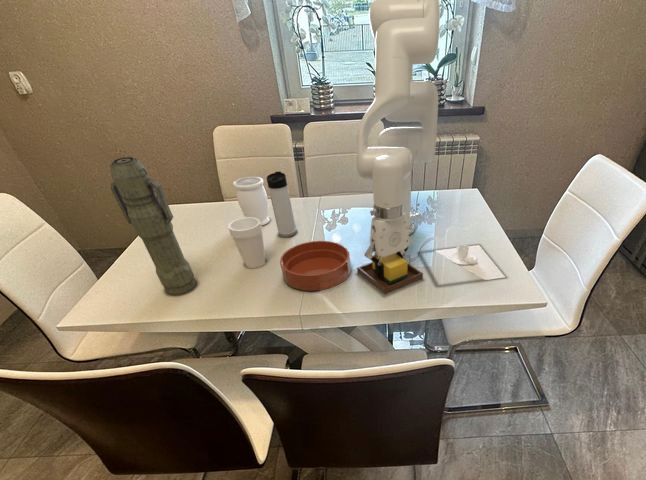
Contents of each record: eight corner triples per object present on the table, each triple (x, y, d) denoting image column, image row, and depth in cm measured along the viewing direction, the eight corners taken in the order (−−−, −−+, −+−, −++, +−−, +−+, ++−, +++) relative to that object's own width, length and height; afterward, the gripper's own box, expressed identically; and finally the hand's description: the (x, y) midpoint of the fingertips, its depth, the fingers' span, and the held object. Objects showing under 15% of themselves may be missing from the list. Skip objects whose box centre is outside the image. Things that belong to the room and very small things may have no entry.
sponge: (389, 264, 113) (388, 249, 109) (407, 277, 107) (407, 261, 104) (372, 270, 111) (371, 255, 107) (390, 284, 105) (390, 268, 101)
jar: (278, 219, 143) (269, 178, 133) (258, 230, 137) (248, 188, 127) (258, 214, 148) (248, 174, 138) (238, 224, 142) (226, 183, 131)
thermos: (198, 293, 108) (142, 163, 84) (156, 297, 108) (89, 168, 84) (205, 277, 115) (155, 152, 91) (166, 280, 114) (105, 156, 90)
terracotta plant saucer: (330, 250, 123) (328, 234, 120) (363, 276, 111) (362, 260, 107) (273, 270, 116) (269, 254, 112) (301, 300, 103) (298, 283, 99)
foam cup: (275, 257, 122) (266, 218, 113) (260, 272, 115) (249, 232, 106) (250, 254, 124) (239, 215, 115) (234, 268, 118) (221, 228, 109)
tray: (393, 260, 117) (393, 253, 115) (422, 280, 108) (423, 273, 106) (357, 274, 112) (357, 267, 110) (384, 296, 103) (384, 289, 101)
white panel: (480, 265, 112) (482, 253, 109) (455, 268, 111) (456, 256, 109) (470, 251, 119) (471, 239, 116) (445, 254, 118) (446, 242, 115)
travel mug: (298, 229, 136) (287, 171, 123) (294, 237, 132) (282, 178, 118) (281, 229, 137) (269, 171, 123) (276, 237, 132) (263, 178, 119)
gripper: (368, 223, 91) (371, 287, 103) (424, 205, 97) (421, 267, 109) (352, 214, 95) (357, 275, 107) (406, 197, 102) (405, 257, 114)
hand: (389, 271), depth 108 cm, fingers closed on sponge, 6 cm apart
